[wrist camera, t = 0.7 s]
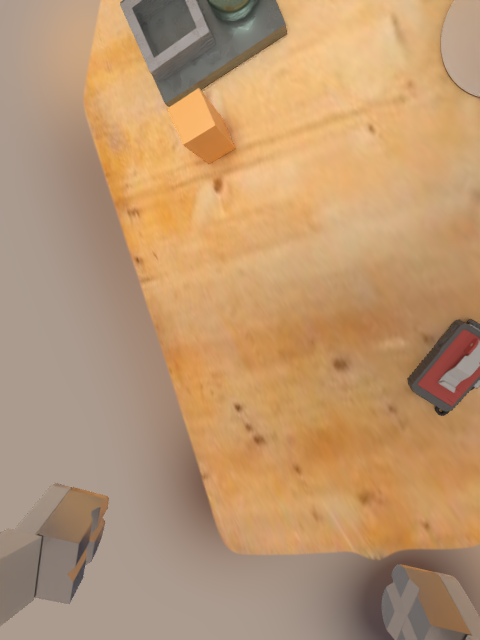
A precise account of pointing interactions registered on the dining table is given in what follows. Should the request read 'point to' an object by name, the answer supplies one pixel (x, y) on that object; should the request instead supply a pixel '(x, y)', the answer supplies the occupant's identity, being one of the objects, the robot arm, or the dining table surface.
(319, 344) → the dining table surface
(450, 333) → the walkie-talkie
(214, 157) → the tall orange prism
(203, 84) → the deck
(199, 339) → the dining table surface
